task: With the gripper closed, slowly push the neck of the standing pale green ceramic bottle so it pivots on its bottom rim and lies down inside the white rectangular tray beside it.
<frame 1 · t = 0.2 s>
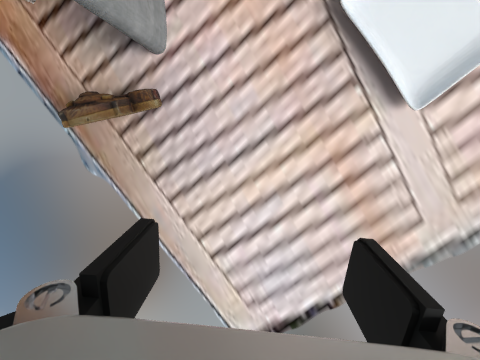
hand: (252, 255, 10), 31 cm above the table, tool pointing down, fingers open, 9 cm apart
wooden carving: (126, 108, 40), on the table
salad plate: (426, 13, 34), on the table
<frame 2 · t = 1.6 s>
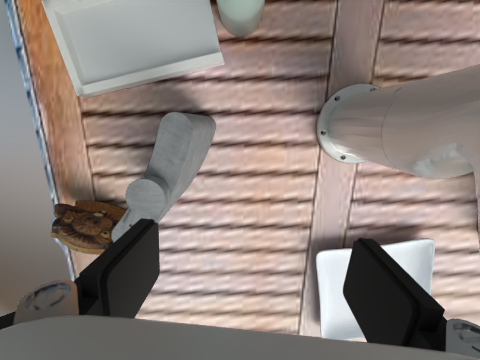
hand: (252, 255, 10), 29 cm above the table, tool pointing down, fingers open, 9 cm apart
white rectangular tray: (145, 36, 34), on the table
wooden carving: (119, 212, 42), on the table
bottle: (241, 12, 33), on the table
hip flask: (192, 159, 39), on the table
salad plate: (365, 281, 45), on the table
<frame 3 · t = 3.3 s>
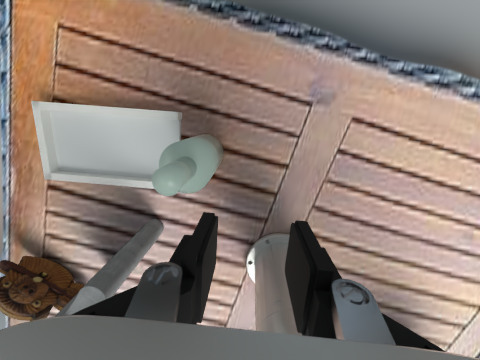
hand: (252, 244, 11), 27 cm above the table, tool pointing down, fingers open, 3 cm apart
white rectangular tray: (119, 146, 38), on the table
wooden carving: (62, 269, 46), on the table
bottle: (205, 152, 38), on the table
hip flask: (137, 247, 44), on the table
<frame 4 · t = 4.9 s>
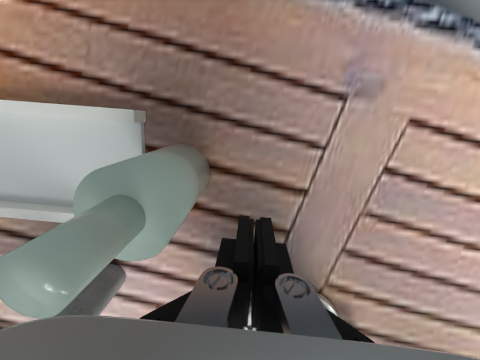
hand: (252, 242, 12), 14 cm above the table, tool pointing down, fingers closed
white rectangular tray: (54, 161, 26), on the table
bottle: (182, 171, 25), on the table
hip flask: (91, 301, 31), on the table
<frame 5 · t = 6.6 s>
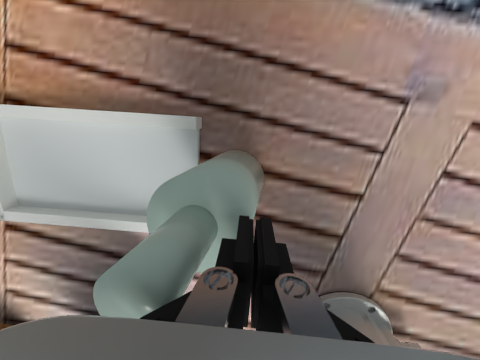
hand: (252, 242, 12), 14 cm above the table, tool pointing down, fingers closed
white rectangular tray: (107, 168, 26), on the table
bottle: (235, 178, 25), on the table, tilted 7°, touching gripper
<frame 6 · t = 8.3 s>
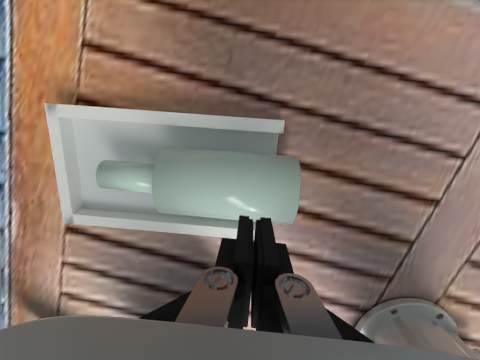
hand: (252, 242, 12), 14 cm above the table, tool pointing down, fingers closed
white rectangular tray: (177, 171, 25), on the table
bottle: (291, 190, 21), point 4 cm above the table, tilted 90°, touching white rectangular tray
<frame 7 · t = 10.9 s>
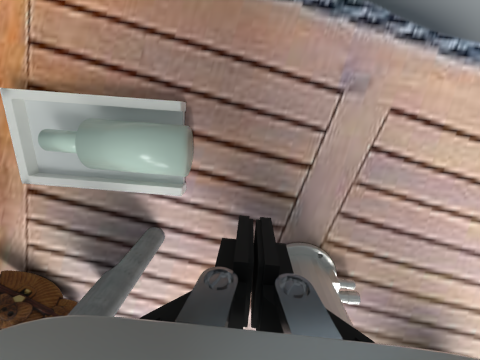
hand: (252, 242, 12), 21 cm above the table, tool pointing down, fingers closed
white rectangular tray: (111, 142, 32), on the table
wooden carving: (49, 283, 41), on the table
bottle: (187, 151, 28), point 4 cm above the table, tilted 90°, touching white rectangular tray
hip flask: (135, 258, 38), on the table
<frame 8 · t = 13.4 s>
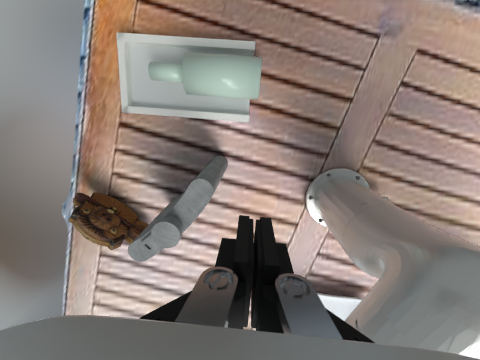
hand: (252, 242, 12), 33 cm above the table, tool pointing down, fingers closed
white rectangular tray: (192, 81, 41), on the table
wooden carving: (125, 209, 49), on the table
bottle: (260, 79, 36), point 4 cm above the table, tilted 90°, touching white rectangular tray
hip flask: (200, 185, 46), on the table
salad plate: (310, 318, 54), on the table
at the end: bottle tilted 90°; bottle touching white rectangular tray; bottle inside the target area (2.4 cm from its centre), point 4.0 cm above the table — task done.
